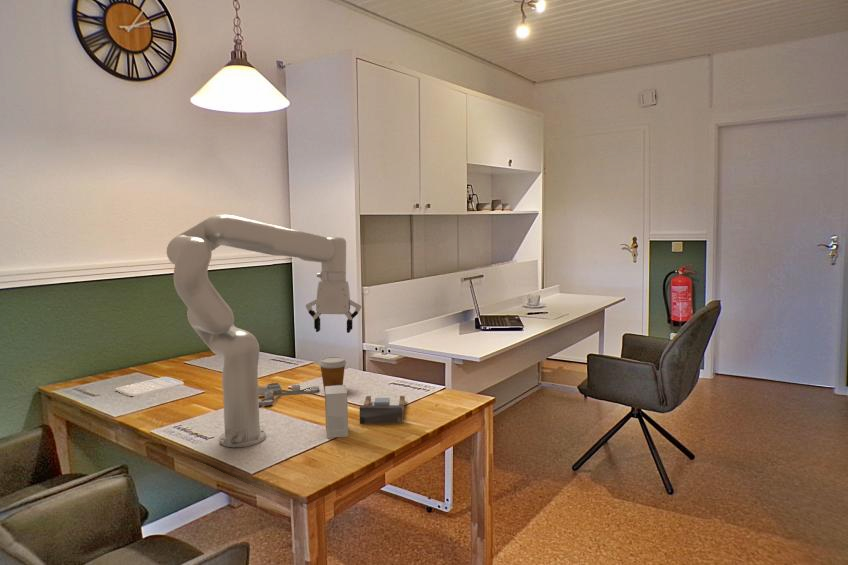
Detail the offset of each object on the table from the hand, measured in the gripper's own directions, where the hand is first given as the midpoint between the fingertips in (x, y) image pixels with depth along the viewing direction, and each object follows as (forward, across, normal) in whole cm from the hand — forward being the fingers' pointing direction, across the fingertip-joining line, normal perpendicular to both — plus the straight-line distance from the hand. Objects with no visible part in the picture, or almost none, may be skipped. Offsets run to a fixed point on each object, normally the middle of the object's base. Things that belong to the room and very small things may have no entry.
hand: (333, 331), depth 182 cm
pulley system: (+28, -22, +21) cm, 41 cm away
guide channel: (+26, +16, +4) cm, 31 cm away
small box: (+28, +4, -14) cm, 31 cm away
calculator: (+29, -74, +29) cm, 84 cm away
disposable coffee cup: (+27, -5, +25) cm, 37 cm away
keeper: (+27, +16, -2) cm, 31 cm away
